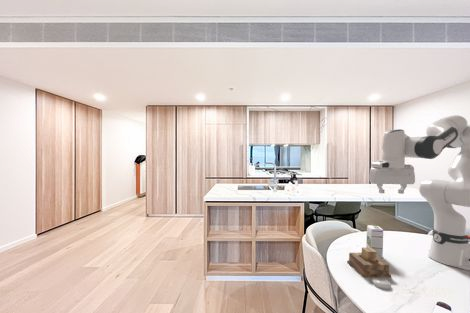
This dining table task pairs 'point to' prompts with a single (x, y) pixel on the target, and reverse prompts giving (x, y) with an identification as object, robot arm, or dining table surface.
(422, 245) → the dining table surface
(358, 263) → the socket block
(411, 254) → the dining table surface
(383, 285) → the grey flat pebble
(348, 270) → the dining table surface
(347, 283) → the dining table surface
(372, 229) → the syrup box
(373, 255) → the oak peg
